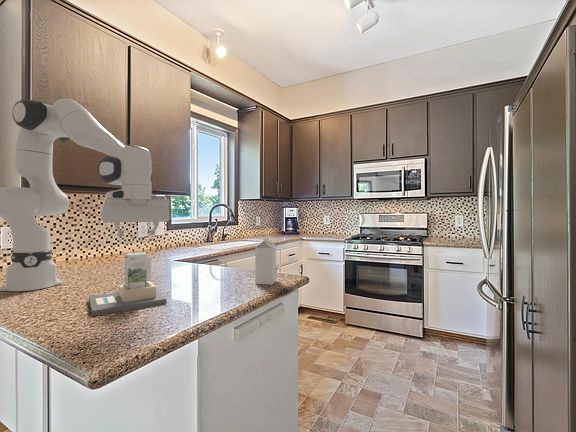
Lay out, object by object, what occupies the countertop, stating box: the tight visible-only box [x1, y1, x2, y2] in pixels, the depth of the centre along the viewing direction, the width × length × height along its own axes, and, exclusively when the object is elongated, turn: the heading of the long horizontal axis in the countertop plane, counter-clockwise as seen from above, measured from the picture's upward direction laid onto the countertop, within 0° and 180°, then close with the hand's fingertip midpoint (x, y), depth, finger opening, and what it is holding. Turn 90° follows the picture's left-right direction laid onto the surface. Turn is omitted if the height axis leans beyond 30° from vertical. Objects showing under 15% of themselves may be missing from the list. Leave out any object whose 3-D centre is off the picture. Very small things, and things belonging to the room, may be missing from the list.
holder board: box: [88, 281, 167, 317], centre depth 96 cm, size 18×20×5 cm
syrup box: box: [124, 251, 148, 290], centre depth 98 cm, size 6×6×14 cm
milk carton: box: [254, 236, 277, 286], centre depth 123 cm, size 7×7×19 cm
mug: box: [147, 256, 152, 282], centre depth 113 cm, size 10×7×12 cm, turn 79°
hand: (136, 235), depth 98 cm, fingers open, 8 cm apart
